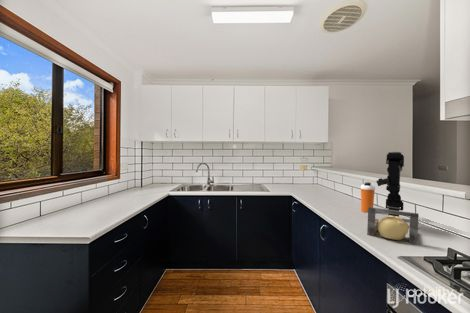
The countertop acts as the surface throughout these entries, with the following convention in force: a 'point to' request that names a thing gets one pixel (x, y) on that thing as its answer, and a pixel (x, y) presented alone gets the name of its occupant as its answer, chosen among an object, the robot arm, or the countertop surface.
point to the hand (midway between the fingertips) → (392, 201)
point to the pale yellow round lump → (393, 227)
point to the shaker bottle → (367, 196)
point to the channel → (413, 216)
